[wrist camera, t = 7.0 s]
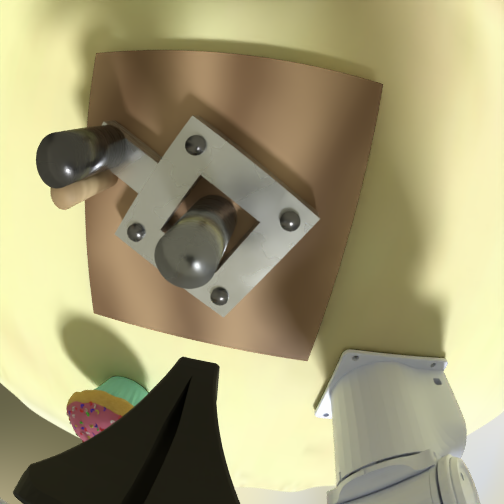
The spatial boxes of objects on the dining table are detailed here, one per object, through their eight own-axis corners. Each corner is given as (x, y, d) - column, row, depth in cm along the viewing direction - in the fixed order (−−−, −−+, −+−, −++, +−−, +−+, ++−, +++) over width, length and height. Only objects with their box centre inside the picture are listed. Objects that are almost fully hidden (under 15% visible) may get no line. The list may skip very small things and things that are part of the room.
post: (240, 199, 17) (220, 236, 12) (233, 243, 18) (212, 294, 13) (193, 191, 17) (155, 224, 12) (189, 235, 18) (153, 281, 13)
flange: (317, 212, 17) (331, 257, 11) (227, 306, 20) (207, 370, 14) (140, 74, 14) (80, 63, 9) (75, 186, 17) (14, 215, 12)
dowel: (119, 162, 17) (74, 178, 13) (118, 188, 17) (75, 211, 13) (97, 160, 17) (50, 176, 13) (96, 185, 17) (51, 207, 13)
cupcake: (181, 422, 28) (148, 526, 17) (112, 414, 29) (70, 500, 18) (149, 361, 24) (91, 482, 13) (75, 357, 26) (12, 449, 15)
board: (377, 85, 14) (383, 84, 14) (307, 351, 22) (307, 361, 21) (104, 55, 15) (96, 53, 14) (99, 306, 22) (93, 313, 21)
